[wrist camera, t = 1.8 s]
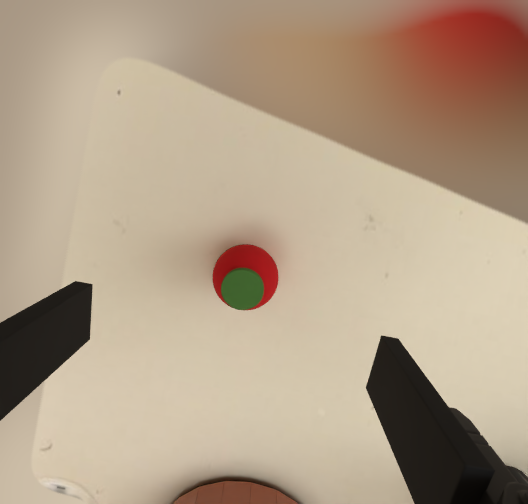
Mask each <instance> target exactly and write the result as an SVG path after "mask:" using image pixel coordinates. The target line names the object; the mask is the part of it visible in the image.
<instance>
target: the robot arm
mask: <svg viewBox="0 0 528 504" xmlns="http://www.w3.org/2000/svg"><path fill="white" fill-rule="evenodd" d="M91 304H92V284H88V283H83V282H77V281H75V282H73V283H71V284H70V285H68V286H66V287H64V288H62V289H60V290H59V291H57V292H55V293H53V294H51V295H50V296H48V297H46V298H44V299H42V300H41V301H39V302H37V303H35V304H33V305H32V306H30V307H28V308H26V309H25V310H22V311H21V312H19V313H17V314H16V315H14V316H12V317H10V318H8V319H6V320H5V321H3V322H1V323H0V420H1V419H3V418H4V417H5V416H6V415H7V414H8V413H9V412H10V411H11V410H13V409H14V408H15V407H16V406H17V405H18V404H19V403H20V402H21V401H22V400H23V399H25V398H26V397H27V396H28V395H29V394H30V393H31V392H32V391H33V390H34V389H36V388H37V387H38V386H39V385H40V384H41V383H42V382H43V381H44V380H46V379H47V378H48V377H49V376H50V375H51V374H52V373H53V372H54V371H55V370H57V369H58V368H59V367H60V366H61V365H62V364H63V363H64V362H65V361H66V360H68V359H69V358H70V357H71V356H72V355H73V354H74V353H75V352H76V351H77V350H79V349H80V348H81V347H82V346H83V345H84V344H85V343H86V342H87V341H88V340H90V324H91ZM366 389H367V391H368V394H369V396H370V399H371V401H372V403H373V406H374V408H375V410H376V413H377V415H378V418H379V420H380V422H381V425H382V427H383V430H384V432H385V434H386V437H387V439H388V441H389V444H390V446H391V449H392V451H393V453H394V456H395V458H396V460H397V463H398V465H399V468H400V470H401V472H402V475H403V477H404V479H405V482H406V484H407V487H408V489H409V491H410V494H411V496H412V499H413V501H414V503H415V504H528V485H526V484H523V483H519V482H518V481H517V479H516V478H515V477H514V476H513V474H512V473H511V472H510V470H509V469H508V468H507V467H506V465H505V464H504V463H503V462H502V460H501V459H500V458H499V456H498V455H497V454H496V453H495V451H494V450H493V449H492V447H491V446H489V445H488V442H487V441H486V440H485V439H484V437H483V436H482V435H480V432H479V431H478V430H477V428H476V427H475V426H474V424H473V423H472V422H471V421H470V420H469V419H468V418H467V417H466V416H464V415H463V414H462V413H461V412H460V411H458V410H457V409H455V408H450V407H448V406H447V404H446V403H445V402H444V400H443V399H442V398H441V396H440V395H439V394H438V392H437V391H436V390H435V388H434V387H433V385H432V384H431V383H430V381H429V380H428V379H427V377H426V376H425V375H424V373H423V372H422V370H421V369H420V368H419V366H418V365H417V364H416V362H415V361H414V360H413V358H412V357H411V356H410V354H409V353H408V351H407V350H406V349H405V347H404V346H403V345H402V343H401V342H400V341H399V339H397V338H392V337H386V336H381V339H380V342H379V346H378V349H377V352H376V356H375V359H374V362H373V366H372V369H371V373H370V376H369V379H368V383H367V386H366Z"/></svg>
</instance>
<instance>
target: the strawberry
mask: <svg viewBox="0 0 528 504" xmlns="http://www.w3.org/2000/svg"><path fill="white" fill-rule="evenodd" d="M213 285H214V288H215V291H216V293H217V295H218V296H219V298H220V299H221V300H222V301H223V302H224V303H225V304H227V305H228V306H230V307H232V308H235V309H238V310H252V309H256V308H259V307H261V306H262V305H264V304H265V303H267V302H268V301H269V300H270V299H271V297H272V296H273V294H274V293H275V291H276V288H277V285H278V270H277V266H276V264H275V262H274V260H273V258H272V257H271V256H270V255H269V254H268V253H267V252H266V251H265V250H263V249H261V248H259V247H257V246H254V245H248V244H246V245H238V246H234V247H232V248H230V249H228V250H227V251H225V252H224V253H223V254H222V255H221V256H220V257H219V259H218V260H217V262H216V264H215V267H214V270H213Z"/></svg>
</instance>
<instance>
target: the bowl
mask: <svg viewBox="0 0 528 504" xmlns="http://www.w3.org/2000/svg"><path fill="white" fill-rule="evenodd" d="M173 504H298V503H297V502H295V501H294V500H292V499H291V498H289V497H287V496H286V495H284V494H283V493H281V492H279V491H278V490H275V489H272V488H269V487H266V486H262V485H259V484H256V483H252V482H239V481H222V482H218V483H213V484H208V485H204V486H200V487H197V488H196V489H194V490H192V491H190V492H188V493H186V494H185V495H183V496H181V497H179V498H178V499H177V500H176V501H175V502H174V503H173Z"/></svg>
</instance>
